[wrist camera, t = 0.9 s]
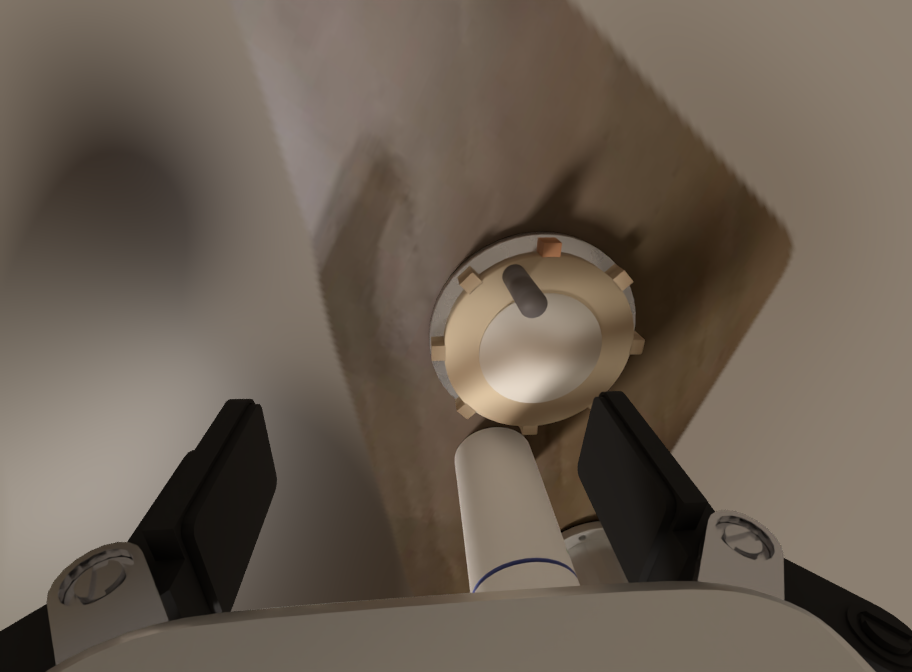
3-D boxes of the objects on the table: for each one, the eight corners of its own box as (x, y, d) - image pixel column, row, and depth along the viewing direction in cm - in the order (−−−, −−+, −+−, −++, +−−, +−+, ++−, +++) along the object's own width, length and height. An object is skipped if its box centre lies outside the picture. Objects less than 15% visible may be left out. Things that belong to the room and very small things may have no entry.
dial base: (644, 374, 36) (650, 381, 35) (471, 438, 37) (473, 446, 36) (607, 195, 28) (613, 197, 27) (394, 283, 30) (393, 288, 29)
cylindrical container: (502, 413, 36) (642, 872, 14) (545, 459, 39) (717, 898, 17) (438, 455, 38) (474, 928, 16) (484, 496, 41) (569, 943, 18)
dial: (645, 381, 34) (692, 432, 29) (476, 443, 36) (488, 504, 30) (609, 207, 27) (661, 230, 22) (402, 292, 29) (399, 335, 23)
